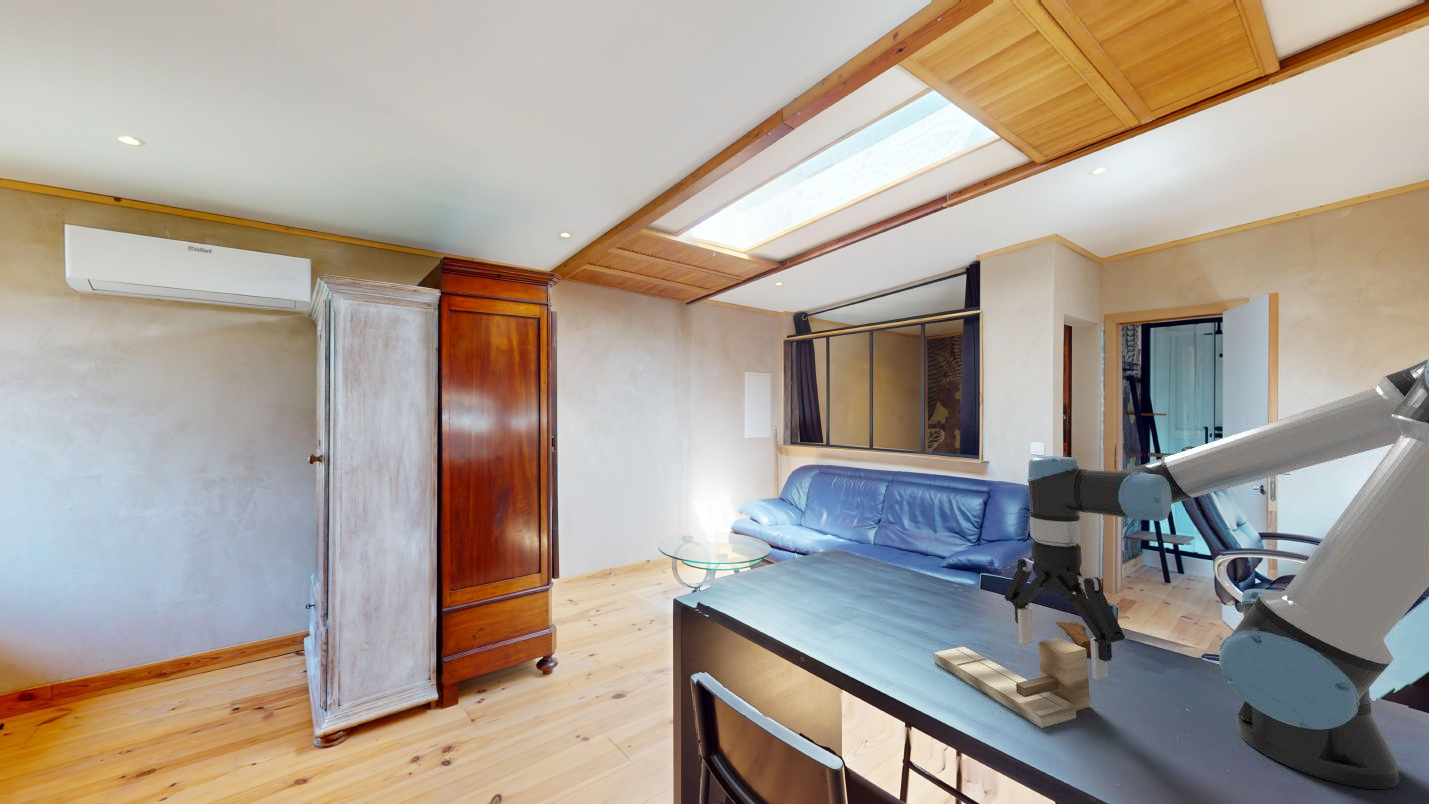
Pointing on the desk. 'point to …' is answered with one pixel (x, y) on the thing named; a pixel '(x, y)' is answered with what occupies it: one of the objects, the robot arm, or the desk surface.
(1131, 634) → the desk surface
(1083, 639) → the primitive tool
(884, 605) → the desk surface
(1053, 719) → the board
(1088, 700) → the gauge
